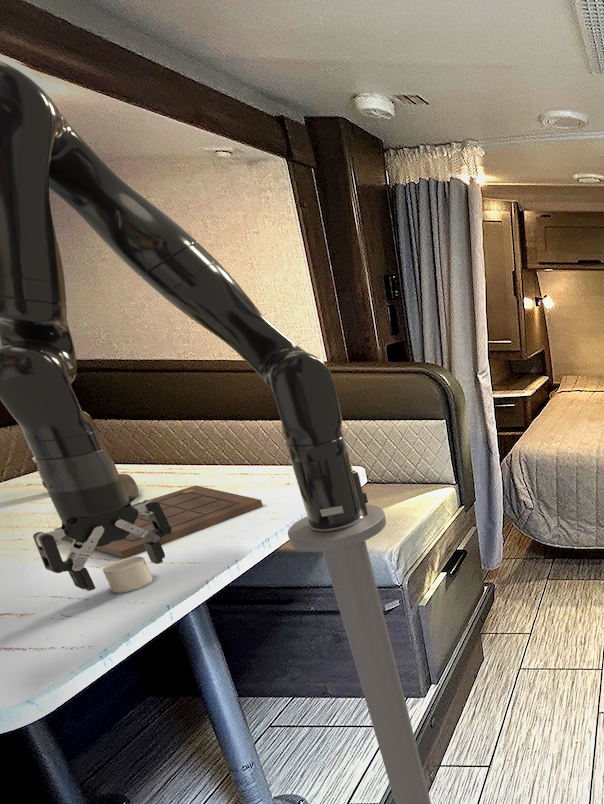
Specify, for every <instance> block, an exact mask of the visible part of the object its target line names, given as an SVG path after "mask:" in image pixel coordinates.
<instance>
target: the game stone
mask: <svg viewBox="0 0 604 804" xmlns="http://www.w3.org/2000/svg"><path fill="white" fill-rule="evenodd" d="M102 573H103V575H104V577H105V579H106V581H107V583H108V585H109V588H110V589H111V591H112V592H113V593H117V594H120V593H127V592H132V591H135V590H138V589H140V588H142V587H145V586H147V585H148V584H150V583H151V582H152V581H153V579H154V578H153V575H152V573H151V571H150V569H149V566H148V563H147V562H146V560H145V558H144V557H143V556H130V557H127V558H125V559H124V558H121V559H118V560H116V561H113V562H111V563H108V564H107V565H105V566H104V567H103V568H102Z"/></svg>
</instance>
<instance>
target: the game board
mask: <svg viewBox="0 0 604 804" xmlns="http://www.w3.org/2000/svg"><path fill="white" fill-rule="evenodd" d="M149 500H150V501H154V502H158V503H159V504H160V507H161V509H162V511H163V513H164V515H165V517H166V519H167V521H168V523H169V525H170V527H171V529H172V532H171V533H170V534H167V535H164V536H163V537H162V538H161V539H160V543H161V546H162V545H165V544H167V543H169V542H172V541H174V540H178V539H180V538H183V537H185V536H187V535H190V534H193V533H196V532H199V531H201V530H204V529H206V528H209V527H212V526H214V525H217V524H219V523H222V522H224V521H227V520H230V519H233V518H235V517H238V516H241V515H242V514H243V515H244V514H246V513H248V512H251V511H254V510H256V509H259V508H261V507H264V505H263V501H262V499H259V498H255V497H249V496H245V495H241V494H237V493H232V492H228V491H223V490H218V489H215V488H209V487H205V486H201V485H191V486H189V487H186V488H182V489H179V490H176V491H173V492H170V493H166V494H164V495H160V496H157V497H153V498H149ZM142 502H143V501H141V502H138V503H135V504H131V505H132V506H133V507H134V506H137V505H140V504H142ZM134 525H136V526H138V527H140V528H142V529H145V530H147V531H149V532H151V531H152V530H154V528H153V526H152V524H151V522H150V520H149V518H148V516H146V515H143V514H142V513H141V512H140V513H138V517H137V519H136V521H135V523H134ZM61 527H62V526H60V527H56V528H54V530H53V531H55V530H59V529H61ZM62 539H65V540H68V541H70V542H73V541H74V539H72V538H70V537H67V536H64V537H63V538H62ZM144 542H145V540H144V539H142V538H139V537H137V536H135V535H132V534H129V535H128V536H126V538H125V539H122V540H118V541H113V542H111V543H109V544H107V545H105V546H102V547H99V546H95V549H94V550H98V551H100V552H104V553H106V554H109V555H112V556H115V557H118V558H121V559H125V558H130V557H134V556H135V555H137V554H140V553H144V552H145V551H146V548H145V546H144V544H143V543H144ZM146 552H147V551H146Z"/></svg>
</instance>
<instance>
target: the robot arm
mask: <svg viewBox="0 0 604 804" xmlns="http://www.w3.org/2000/svg"><path fill="white" fill-rule="evenodd" d="M50 191H51V192H52V193H54V194H55V195H56V196H57V197H58V198H60V199H61V200H63V201H64V203H66V204H67V205H68V206H69V207H70V208H71V209H72V210H74V211H75V212H76V213H77V215H78V216H79V217H81V218H82V219H83V221H84V222H85V223H86V224H87V225H88V227H90V229H92V230H93V231H94V233H95V234H96V235H97V236H98V237H99V238H100V239H101V240H102V241H103V242H104V243H105V244H106V246H108V247H109V249H110V250H112V251H113V253H114V254H115V255H116V256H117V257H118V258H119V259H120V260H121V261H122V262H124V263H125V264H126V265H127V267H129V268H130V269H131V270H132V271H133V272H135V274H136V275H137V276H138V277H141V279H142V280H143V281H144V282H145V283H147V284H148V285H149V286H150V287H152V289H153V290H154V291H156V292H157V293H158V294H160V296H162V297H163V298H164V299H165V300H167V301H168V302H169V303H170V304H172V305H173V306H174V307H175V308H176V309H178V310H179V311H181V312H182V313H183V314H185V315H186V316H187V317H188V318H190V319H191V320H193V322H196V323H197V324H199V325H200V326H201V327H203V328H204V329H205V330H208V332H210V333H211V334H213V335H214V336H215V337H217V338H219V340H221V341H222V342H224V343H225V344H226V345H228V346H229V347H230V348H231V349H232V350H233V351H235V352H236V354H238V355H239V356H240V357H241V358H242V359H243V361H245V362H246V363H247V364H248V366H250V367H251V369H253V370H254V372H256V374H257V375H258V376H259V377H260V378H261V380H263V381H264V383H265V384H266V385H267V387H268V388H269V389H270V390H271V391H272V393H273V396H274V400H275V403H276V407H277V410H278V415H279V418H280V422H281V428H282V435H283V439H284V442H285V445H286V448H287V452H288V455H289V459H290V463H291V467H292V469H293V473H294V477H295V479H296V483H297V486H298V490H299V493H300V496H301V501H302V503H303V507H304V511H305V514H306V516H307V517H308V521H309V526H310V529H311V530H312V531H315V532H333V531H338V530H342V529H346V528H349V527H351V526H354V525H356V524H357V523H359V522H360V521H362V520H363V518H364V517H365V516H367V515H368V512H367V508H366V504H368V503H369V500H368V496H367V493H366V492H364V491H363V487H362V484H361V483H362V482H361V479H360V476H359V472H358V471H357V470H353V466H352V462H351V459H350V455H349V451H348V448H347V443H346V439H345V436H344V430H343V417H342V412H341V411H342V410H341V405H340V402H339V397H338V393H337V388H336V384H335V380H334V377H333V374H332V372H331V369H330V368H329V366H328V365H327V364H326V362H324V360H322V359H320V358H319V357H318V356H316V355H314V354H312V353H310V352H307V351H306V350H304V349H302V348H301V347H300V346H299V345H298V344H297V343H295V342H294V341H293V340H291V339H290V338H289V337H287V335H285V334H284V333H283V332H282V331H280V330H279V329H278V328H277V327H275V325H274V324H272V323H271V322H270V321H269V320H268V319H267V318H266V317H265V316H264V315H263V314H262V312H261V311H260V310H259V309H258V308H257V306H256V305H255V304H254V302H253V301H252V300H251V299H250V297H249V295H248V294H247V293H246V292H245V291H244V289H243V288H242V287H241V285H240V284H238V282H237V281H236V280H235V278H233V277H232V275H231V274H230V273H229V272H228V271H227V270H226V269H225V267H223V265H222V264H220V262H218V260H217V259H216V258H215V257H214V256H212V255H211V253H210V252H209V251H207V249H205V247H203V246H202V245H201V244H200V243H199V242H197V240H196V239H195V238H194V237H193V236H192V235H191V234H190V233H188V232H187V231H186V230H185V229H184V228H183V227H182V226H180V224H178V222H176V221H175V220H173V219H172V218H171V217H170V216H169V215H168V214H166V213H165V212H164V211H162V210H161V209H159V207H157V206H155V205H154V204H153V203H152V202H151V201H150V200H148V199H146V198H145V197H144V196H143V195H141V194H140V193H138V191H136V190H135V189H133V187H131V186H130V185H129V184H127V183H126V182H125V181H124V180H123V179H122V178H120V176H118V175H117V174H116V173H115V171H113V170H112V169H111V168H110V167H109V166H108V165H107V164H106V162H105V161H104V160H102V158H101V157H100V156H99V155H98V154H97V153H96V152H95V151H94V149H92V148H91V146H89V144H88V143H87V142H86V140H84V139H83V138H82V137H81V136H80V134H79V133H78V132H77V131H76V130H75V128H73V126H71V124H70V123H69V122H68V121H67V120H66V118H65V117H64V116H63V114H62V113H61V111H60V110H59V108H58V107H57V105H56V104H55V102H54V101H53V99H52V98H51V97H50V95H48V93H47V92H46V91H45V90H44V89H43V88H42V87H41V86H39V84H38V83H36V82H35V81H34V80H33V79H32V78H30V77H29V76H28V75H27V74H25V73H23V72H22V70H21V71H20V70H19V69H17V68H15V67H14V66H12V65H10V64H8V63H6V62H3V61H1V60H0V402H1V403H2V404H3V406H4V407H5V408H6V410H7V411H8V413H9V414H10V415H11V417H13V419H14V420H15V421H16V422H17V423H18V425H19V426H20V429H21V430H22V433H23V437H24V439H25V441H26V443H27V445H28V447H29V450H30V451H31V453H32V456H33V457H35V460H36V462H35V463H36V466H37V471H38V474H39V476H40V479H41V483H42V486H43V487H44V488H45V490H46V492H47V493H48V496H49V498H50V500H51V502H52V504H53V506H54V509H55V510H56V513H57V514H58V517H59V519H60V520H61V526H60V527H61V529H59V530H51V531H47V532H43V531H37V532H35V533H34V534H33V535H32V537H33V541H34V543H35V545H36V548H37V551H38V553H39V557H40V558H41V561H42V564H43V566H44V568H45V569H46V570H48V571H50V572H52V573H55V574H61V573H64V572H68V574H69V576H70V579H71V580H72V582H73V585H74V586H75V587H77V588H78V589H81V590H85V591H88V592H91V591H93V590H96V585H95V583H94V581H93V579H92V577H91V575H90V573H89V570H88V569H87V567H85V564H86V562H87V560H88V558H89V557H91V556H92V554H93V553H94V551H95V550H96V549H95V546H99V547H102V546H105V545H107V544H109V543H111V542H113V541H118V540H122V539H125V538H126V536H128V535H129V534H132V535H135V536H137V537H139V538H142V539H144V540H145V542H144V543H143V544H144V546H145V548H146V553H147V555H148V558H149V560H150V562H151V563H152V564H155V565H159V564H161V563H163V562H164V560H163V559H165V557H166V554H165V553H166V552H164V551H165V550H164V549H163V546H162V545H161V543H160V539H161V538H162V537H163V536H164V535H167V534H170V533H171V532H172V529H171V527H170V525H169V523H168V521H167V519H166V517H165V515H164V513H163V511H162V509H161V507H160V504H159V503H158V502H154V501H150V499H145V500H143V501H141V502H142V504H140V505H137V506H134V507H133V506H132V505H133V504H131V501H130V499H129V498H128V496H127V493H126V491H125V488H124V486H123V483H122V481H121V479H120V476H119V474H120V473H119V471H118V469H117V466H116V464H115V462H114V460H113V458H112V456H111V455H110V453H109V452H108V450H107V448H106V446H105V443H104V441H103V438H102V437H101V434H100V431H99V429H98V427H97V425H96V422H95V420H94V419H93V417H92V416H91V415H90V414H89V413H87V412H86V411H84V410H83V409H82V407H81V405H80V403H79V400H78V398H77V396H76V393H75V391H74V389H73V386H72V384H73V382H74V381H75V379H76V377H77V373H78V364H77V363H78V362H77V355H76V350H75V345H74V341H73V336H72V333H71V330H70V326H69V323H68V304H67V303H68V300H67V299H68V298H67V287H66V279H65V270H64V265H63V258H62V253H61V249H60V244H59V240H58V236H57V231H56V227H55V223H54V218H53V213H52V206H51V198H50V197H51V196H50ZM140 512H141V513H142V514H143V515H146V516H148V518H149V520H150V522H151V524H152V526H153V528H154V530H152V531H151V532H149V531H147V530H145V529H142V528H140V527H138V526H136V525H134V523H135V521H136V519H137V517H138V513H140ZM64 536H67V537H70V538H72V539H74V541H72V543H71V545H70V546H69V549H68V551H69V553H68V555H67V557H66V559H65V560H64V561H63V558H62V556H61V553H60V550H59V548H58V546H60V545H61V544H62V540H63V539H64V538H63V537H64Z"/></svg>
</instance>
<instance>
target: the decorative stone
mask: <svg viewBox="0 0 604 804" xmlns="http://www.w3.org/2000/svg"><path fill="white" fill-rule="evenodd" d="M118 474H119V476H120V479H121V481H122V483H123V486H124V488H125V491H126V493H127V496H128V498H129V500H134V499H138V497H139V488H138V485H137V483H136V481H135V480H134V478H133V477H132V476H131V475H130V474H128V473H118Z"/></svg>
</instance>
